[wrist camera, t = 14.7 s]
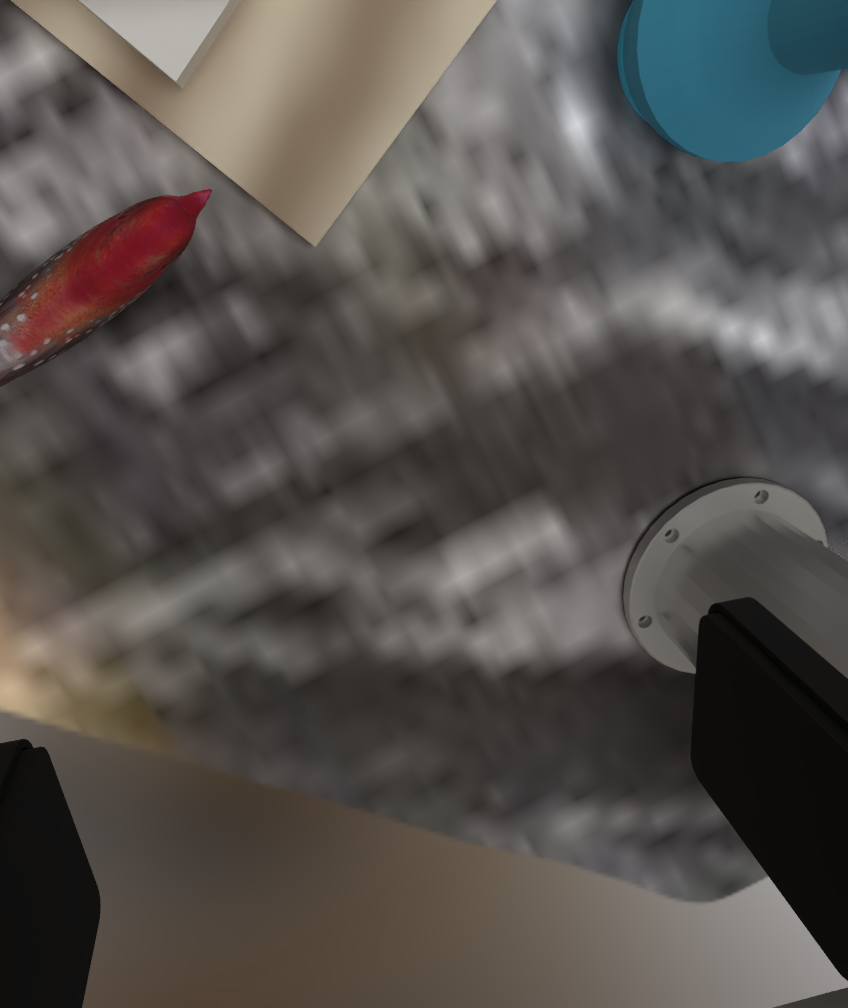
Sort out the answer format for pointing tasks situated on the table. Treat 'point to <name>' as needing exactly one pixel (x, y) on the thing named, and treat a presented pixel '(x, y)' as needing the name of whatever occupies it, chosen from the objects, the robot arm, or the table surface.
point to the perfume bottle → (731, 70)
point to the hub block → (166, 29)
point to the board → (289, 89)
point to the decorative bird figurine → (92, 280)
